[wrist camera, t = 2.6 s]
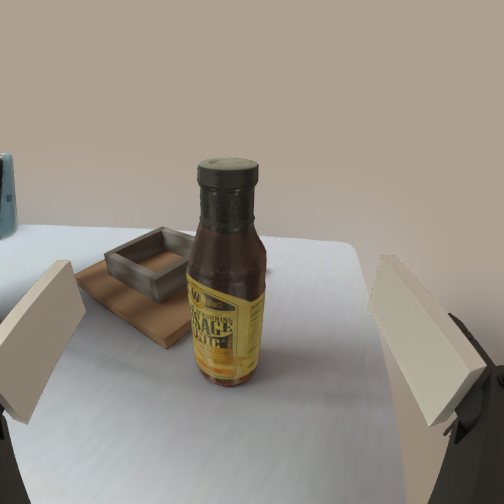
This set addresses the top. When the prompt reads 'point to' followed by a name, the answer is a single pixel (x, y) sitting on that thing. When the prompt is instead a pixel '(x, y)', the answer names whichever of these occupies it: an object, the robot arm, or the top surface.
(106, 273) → the socket block
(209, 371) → the sauce bottle
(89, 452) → the top surface
